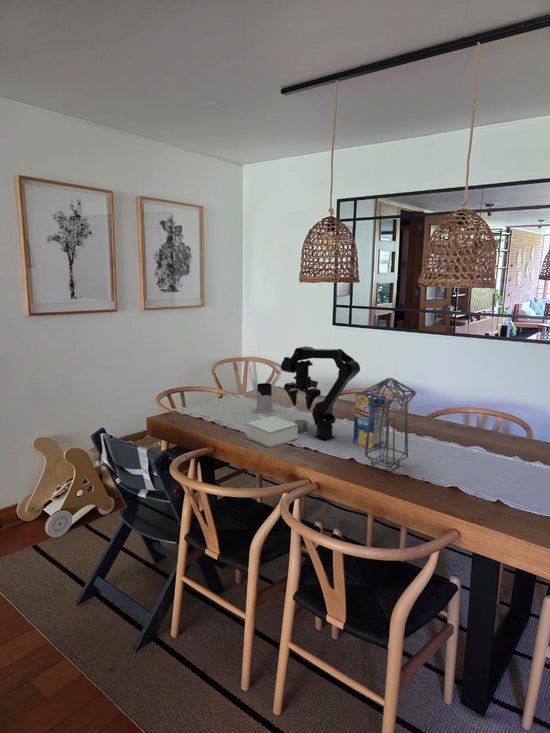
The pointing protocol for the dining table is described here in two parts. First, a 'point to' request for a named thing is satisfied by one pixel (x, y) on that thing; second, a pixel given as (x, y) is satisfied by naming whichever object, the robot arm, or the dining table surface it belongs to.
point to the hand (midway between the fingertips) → (301, 407)
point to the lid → (271, 424)
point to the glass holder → (265, 398)
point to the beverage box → (363, 419)
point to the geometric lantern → (380, 386)
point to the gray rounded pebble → (302, 425)
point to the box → (271, 436)
